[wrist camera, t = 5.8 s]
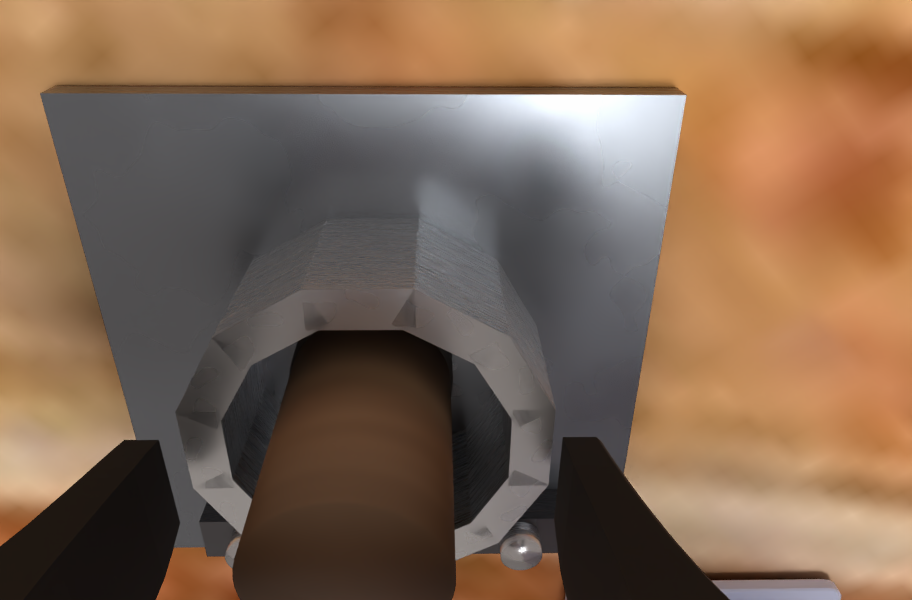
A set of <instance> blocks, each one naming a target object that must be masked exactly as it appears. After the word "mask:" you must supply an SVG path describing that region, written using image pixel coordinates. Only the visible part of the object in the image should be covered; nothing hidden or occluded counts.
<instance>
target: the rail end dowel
mask: <svg viewBox="0 0 912 600" xmlns="http://www.w3.org/2000/svg"><path fill="white" fill-rule="evenodd" d="M452 390H453V365H452V353H450V352H448V351H446V350H444V349H442V348H440V347H438V346H436V345H433V344H431V343H429V342H427V341H425V340H423V339H421V338H419V337H417V336H415V335H412V334H410V333H408V332H406V331H404V330H318V331H316V332H314V333H312V334H311V335H309V336H307V337H305V338H303V339H301V340H299V341H298V342H297V345H296V348H295V351H294V355H293V358H292V361H291V365H290V370H289V379H288V383H287V386H286V389H285V393H284V396H283V399H282V403H281V406H280V409H279V412H278V416H277V419H276V422H275V426H274V429H273V432H272V436H271V439H270V442H269V445H268V449H267V452H266V455H265V459H264V462H263V465H262V469H261V472H260V475H259V479H258V482H257V485H256V488H255V492H254V495H253V498H252V502H251V505H250V508H249V512H248V515H247V518H246V521H245V525H244V528H243V531H242V535H241V538H240V541H239V545H238V548H237V551H236V555H235V558H234V563H233V582H234V587H235V589H236V592H237V594H238V597H239V598H240V600H452V597H453V595H454V591H455V586H456V561H455V524H454V487H453V450H452V412H451V395H452Z"/></svg>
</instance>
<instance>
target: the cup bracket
mask: <svg viewBox="0 0 912 600" xmlns="http://www.w3.org/2000/svg"><path fill="white" fill-rule="evenodd" d="M40 95H41V98H42V102H43V106H44V109H45V113H46V116H47V120H48V124H49V127H50V131H51V134H52V138H53V142H54V145H55V149H56V152H57V156H58V159H59V163H60V167H61V170H62V174H63V177H64V181H65V185H66V188H67V192H68V195H69V199H70V203H71V206H72V210H73V213H74V217H75V221H76V224H77V228H78V231H79V235H80V238H81V242H82V246H83V249H84V253H85V256H86V260H87V264H88V267H89V271H90V274H91V278H92V282H93V285H94V289H95V292H96V296H97V300H98V303H99V307H100V310H101V314H102V318H103V321H104V325H105V328H106V332H107V335H108V339H109V343H110V346H111V350H112V353H113V357H114V361H115V364H116V368H117V371H118V375H119V379H120V382H121V386H122V389H123V393H124V397H125V400H126V404H127V407H128V411H129V414H130V418H131V422H132V425H133V429H134V432H135V436H136V440H159V442H160V446H161V450H162V454H163V458H164V462H165V466H166V470H167V473H168V477H169V481H170V485H171V489H172V493H173V497H174V500H175V504H176V508H177V512H178V516H179V520H180V526H179V529H178V533H177V537H176V540H175V544H174V547H205V549H206V553H207V556H225V560H226V562H227V564H228V565H229V566H230V567H231V568H233V563H234V558H235V555H236V551H237V548H238V545H239V541H240V538H241V535H242V531H243V528H244V525H245V521H246V518H247V515H248V512H249V508H250V505H251V502H252V498H253V495H254V492H255V488H256V485H257V482H258V479H259V475H260V472H261V469H262V465H263V462H264V459H265V455H266V452H267V449H268V445H269V442H270V439H271V436H272V432H273V429H274V426H275V422H276V419H277V416H278V412H279V409H280V406H281V403H282V399H283V396H284V393H285V389H286V386H287V383H288V379H289V370H290V365H291V361H292V358H293V355H294V351H295V348H296V345H297V342H298V341H299V340H301V339H303V338H305V337H307V336H309V335H311V334H312V333H314V332H316V331H318V330H404V331H406V332H408V333H410V334H412V335H415V336H417V337H419V338H421V339H423V340H425V341H427V342H429V343H431V344H433V345H436V346H438V347H440V348H442V349H444V350H446V351H448V352H450V353H452V365H453V390H452V395H451V412H452V450H453V487H454V524H455V560H458V559H460V558H463V557H465V556H467V555H470V554H490V553H500V554H501V560H502V562H503V564H504V565H505V566H507V567H509V568H511V569H514V570H526V569H530V568H532V567H534V566H536V565H537V564H538V563H539V562H540V560H541V558H542V553H558V548H557V540H556V531H555V523H554V515H555V506H556V496H557V487H558V477H559V468H560V458H561V449H562V439H563V437H597V438H598V439H599V440H600V441H601V442H602V443H603V445H604V446H605V448H606V449H607V451H608V452H609V454H610V455H611V457H612V458H613V460H614V461H615V463H616V464H617V466H618V467H619V468H620V470H621V471H622V473H623V474H624V468H625V462H626V456H627V450H628V444H629V438H630V432H631V426H632V420H633V414H634V408H635V402H636V396H637V390H638V384H639V378H640V372H641V366H642V360H643V354H644V348H645V342H646V336H647V330H648V323H649V317H650V311H651V305H652V299H653V293H654V287H655V281H656V275H657V269H658V263H659V257H660V251H661V245H662V239H663V233H664V227H665V221H666V215H667V209H668V203H669V197H670V191H671V185H672V179H673V173H674V167H675V161H676V155H677V149H678V143H679V137H680V131H681V124H682V118H683V112H684V106H685V100H686V94H684V93H683V92H682V91H680V90H679V89H678V88H586V87H270V86H54V87H52V88H50V89H48V90H46V91H44V92H42V93H40Z"/></svg>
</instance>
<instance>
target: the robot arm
mask: <svg viewBox="0 0 912 600" xmlns="http://www.w3.org/2000/svg"><path fill="white" fill-rule="evenodd" d="M554 523H555V531H556V540H557V548H558V556H559V563H560V571H561V576H562V580H563V585H564V589H565V593H566V595H565V600H841V594H840V592H839V590H838V589H837V587H836V585H835V583H834V582H832V581H830V580H825V579H784V580H710V579H709V578H708V577H707V576H706V575H705V574H704V572H703V571H702V570H701V569H700V568H699V567H698V566H697V565H696V564H695V563H694V561H693V560H692V559H691V558H690V557H689V556H688V555H687V554H686V552H685V551H684V550H683V549H682V548H681V547H680V546H679V545H678V543H677V542H676V541H675V540H674V539H673V537H672V536H671V535H670V534H669V533H668V532H667V530H666V529H665V528H664V527H663V525H662V524H661V523H660V522H659V520H658V519H657V518H656V517H655V515H654V514H653V513H652V512H651V510H650V509H649V508H648V506H647V505H646V504H645V503H644V501H643V500H642V499H641V497H640V496H639V495H638V493H637V492H636V491H635V489H634V488H633V487H632V485H631V484H630V482H629V481H628V480H627V478H626V477H625V476H624V474H623V473H622V471H621V470H620V468H619V467H618V466H617V464H616V463H615V461H614V460H613V458H612V457H611V455H610V454H609V452H608V451H607V449H606V448H605V446H604V445H603V443H602V442H601V441H600V440H599V439H598V438H597V437H563V439H562V449H561V458H560V468H559V477H558V487H557V496H556V506H555V515H554ZM179 526H180V520H179V516H178V512H177V508H176V504H175V500H174V497H173V493H172V489H171V485H170V481H169V477H168V473H167V470H166V466H165V462H164V458H163V454H162V450H161V446H160V442H159V440H124V441H123V442H122V443H120V444H119V445H118V446H117V447H116V448H114V449H113V450H112V451H111V452H110V453H109V454H108V455H106V456H105V457H104V458H103V459H102V460H101V461H100V462H99V463H97V464H96V465H95V466H94V467H93V468H92V469H91V470H90V471H88V472H87V473H86V474H85V475H84V476H83V477H82V478H81V479H79V480H78V481H77V482H76V483H75V484H74V485H73V486H72V487H70V488H69V489H68V490H67V491H66V492H65V493H64V494H62V495H61V496H60V497H59V498H58V499H57V500H55V501H54V502H53V503H52V504H51V505H50V506H49V507H47V508H46V509H45V510H44V511H43V512H42V513H40V514H39V515H38V516H37V517H36V518H35V519H34V520H32V521H31V522H30V523H29V524H28V525H26V526H25V527H24V528H23V529H22V530H20V531H19V532H18V533H17V534H15V535H14V536H13V537H12V538H10V539H9V540H8V541H7V542H5V543H4V544H3V545H2V546H0V600H156V598H157V595H158V593H159V590H160V588H161V586H162V583H163V581H164V578H165V575H166V572H167V569H168V565H169V562H170V558H171V555H172V552H173V548H174V544H175V540H176V537H177V533H178V529H179Z"/></svg>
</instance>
